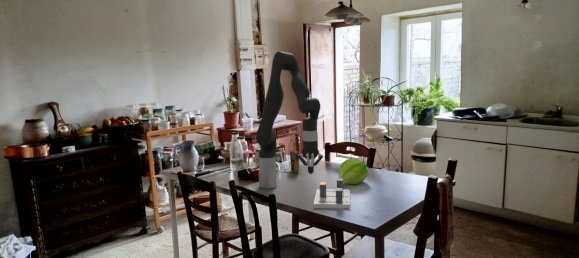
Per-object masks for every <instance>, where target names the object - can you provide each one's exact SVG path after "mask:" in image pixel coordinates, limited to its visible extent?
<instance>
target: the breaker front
mask: <svg viewBox="0 0 579 258" xmlns="http://www.w3.org/2000/svg"><path fill="white" fill-rule="evenodd" d="M335 189H336V203H342V188H337V187H336V188H335Z"/></svg>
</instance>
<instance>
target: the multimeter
mask: <svg viewBox="0 0 579 258" xmlns="http://www.w3.org/2000/svg"><path fill="white" fill-rule="evenodd" d="M291 142H293V150H292V149H291V150H289V161H288V166H289V167H288V168H290V171H286V170H287V168H285V169H284V170H283V172H285V173H290V174H292V175H294V174H298V173H300V171H302V168H301V166H300V159H299V158H298V155H299V154H300V153H299V151H298V150H296V147H297V149H299V148H298V147H299V146H298V144H297V141H296V140H295V141H294V140H293V139H291V140H290V141H289V147H288V148H290V145H291ZM295 143H296V147H295ZM293 172H294V173H293Z"/></svg>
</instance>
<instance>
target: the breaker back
mask: <svg viewBox="0 0 579 258" xmlns="http://www.w3.org/2000/svg"><path fill="white" fill-rule="evenodd" d="M336 188H342V192H343V190H344V189H343V188H344V183H343V178H338V177H337V178H336Z"/></svg>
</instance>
